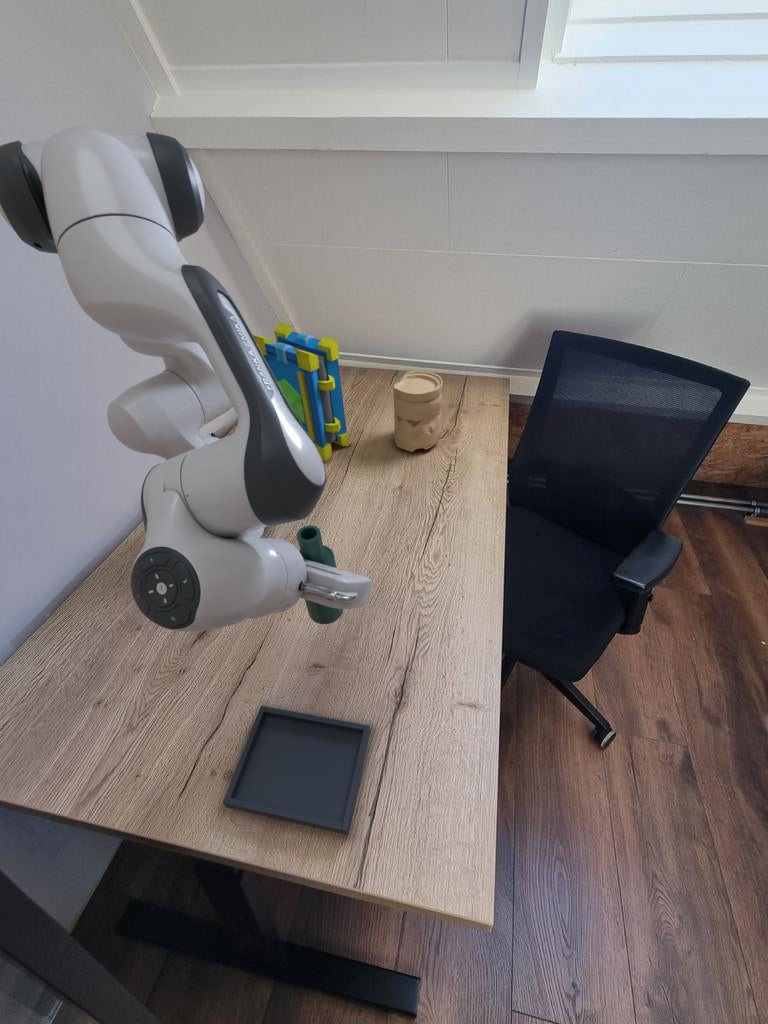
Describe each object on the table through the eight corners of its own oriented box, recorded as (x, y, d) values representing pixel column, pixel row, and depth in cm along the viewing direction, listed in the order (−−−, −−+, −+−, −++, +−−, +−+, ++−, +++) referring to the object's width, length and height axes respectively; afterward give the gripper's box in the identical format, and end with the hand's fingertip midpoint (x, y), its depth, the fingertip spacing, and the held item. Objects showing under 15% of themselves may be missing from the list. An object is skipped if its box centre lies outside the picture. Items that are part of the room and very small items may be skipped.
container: (390, 451, 124) (388, 391, 112) (400, 427, 133) (398, 369, 120) (436, 456, 121) (438, 395, 109) (443, 431, 130) (446, 372, 118)
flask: (301, 610, 71) (279, 534, 60) (328, 589, 74) (311, 513, 63) (323, 630, 68) (304, 555, 57) (350, 608, 71) (337, 532, 60)
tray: (226, 807, 63) (222, 803, 62) (263, 711, 73) (260, 705, 71) (348, 835, 60) (346, 831, 59) (370, 731, 70) (369, 725, 68)
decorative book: (303, 419, 139) (284, 319, 118) (359, 444, 127) (349, 338, 107) (267, 440, 131) (240, 337, 110) (323, 469, 119) (305, 360, 99)
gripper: (353, 573, 49) (390, 567, 62) (204, 529, 56) (266, 532, 69) (340, 629, 49) (380, 611, 62) (192, 579, 56) (256, 572, 69)
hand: (319, 569), depth 66 cm, fingers closed on flask, 5 cm apart
